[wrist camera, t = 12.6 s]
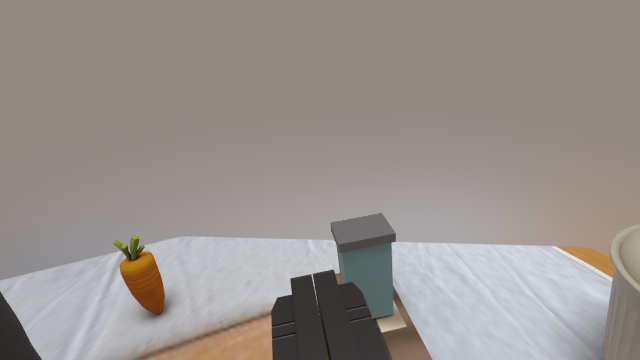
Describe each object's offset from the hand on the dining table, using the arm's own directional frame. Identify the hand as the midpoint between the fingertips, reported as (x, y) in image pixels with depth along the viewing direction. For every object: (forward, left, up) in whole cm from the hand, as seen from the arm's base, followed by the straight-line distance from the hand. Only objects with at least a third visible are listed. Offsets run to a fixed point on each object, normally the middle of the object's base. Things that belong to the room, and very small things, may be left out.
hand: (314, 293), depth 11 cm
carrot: (-38, +17, -30) cm, 52 cm away
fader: (-5, +24, -27) cm, 37 cm away
